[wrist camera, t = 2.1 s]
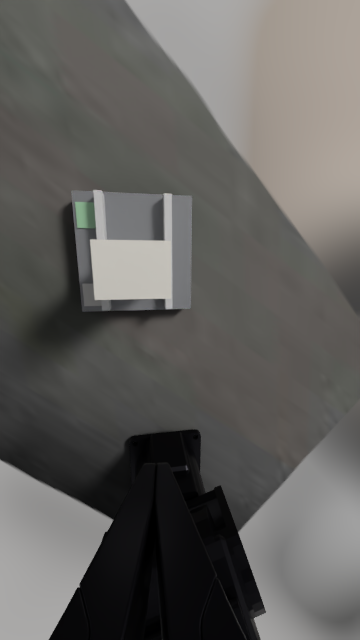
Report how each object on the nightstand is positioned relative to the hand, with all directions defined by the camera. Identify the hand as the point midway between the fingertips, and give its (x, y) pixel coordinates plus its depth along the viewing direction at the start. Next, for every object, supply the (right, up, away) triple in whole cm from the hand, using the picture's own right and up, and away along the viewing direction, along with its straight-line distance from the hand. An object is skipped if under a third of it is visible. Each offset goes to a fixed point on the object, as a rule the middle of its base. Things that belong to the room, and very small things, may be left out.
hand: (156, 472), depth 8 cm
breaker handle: (-2, +9, +9) cm, 13 cm away
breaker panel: (-3, +10, +10) cm, 15 cm away
